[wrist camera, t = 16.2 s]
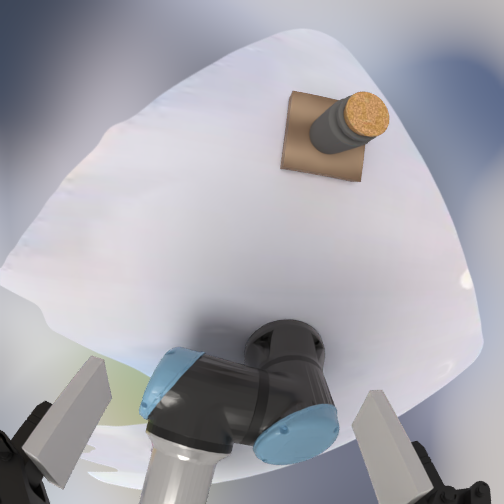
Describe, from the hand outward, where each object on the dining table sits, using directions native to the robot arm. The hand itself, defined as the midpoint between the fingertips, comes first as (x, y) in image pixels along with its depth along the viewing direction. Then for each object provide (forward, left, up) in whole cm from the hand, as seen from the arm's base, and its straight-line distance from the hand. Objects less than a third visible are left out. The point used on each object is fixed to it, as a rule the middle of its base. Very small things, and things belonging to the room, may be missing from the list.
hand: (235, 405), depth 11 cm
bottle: (+18, -10, -31) cm, 37 cm away
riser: (+18, -10, -34) cm, 40 cm away
